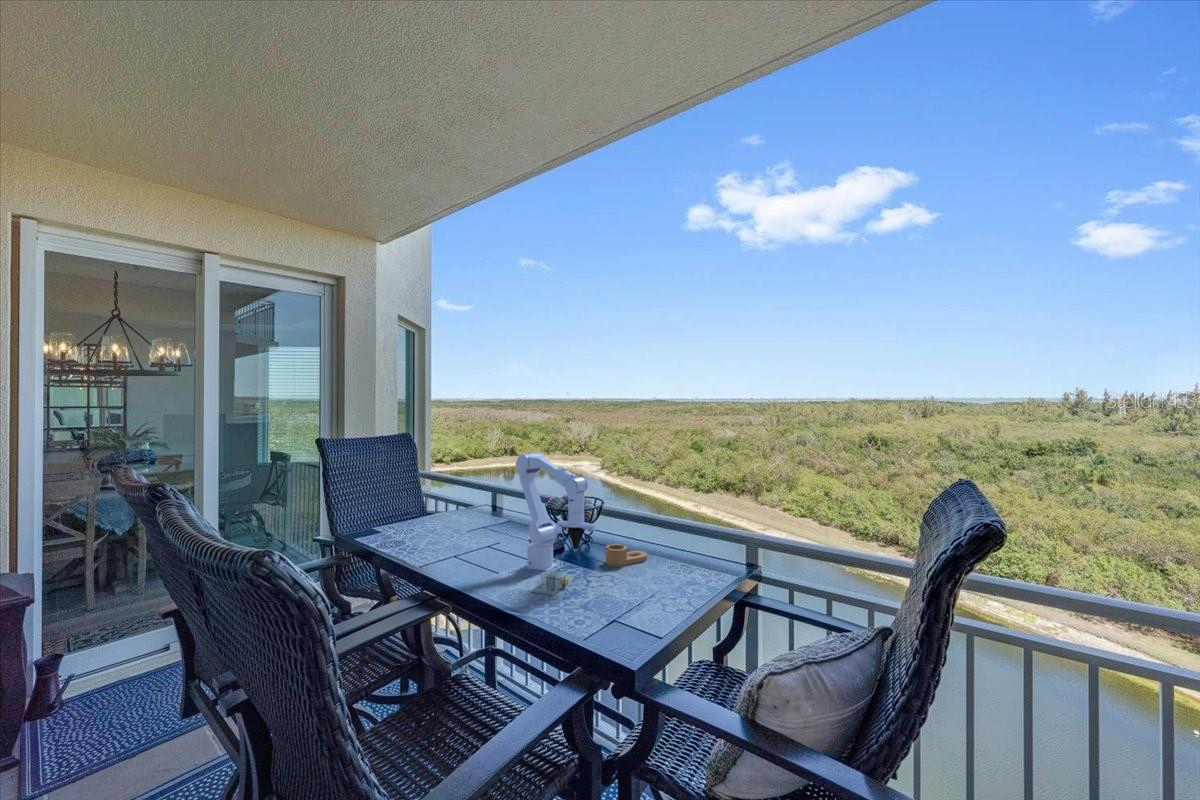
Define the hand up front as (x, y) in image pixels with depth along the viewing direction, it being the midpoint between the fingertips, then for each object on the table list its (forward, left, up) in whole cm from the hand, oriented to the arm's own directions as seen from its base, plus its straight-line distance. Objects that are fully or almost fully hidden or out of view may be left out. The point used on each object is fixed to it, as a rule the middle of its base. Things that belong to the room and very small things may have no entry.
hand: (576, 548), depth 173 cm
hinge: (-4, -10, -10) cm, 15 cm away
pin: (-4, -10, -10) cm, 15 cm away
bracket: (+12, +22, -11) cm, 28 cm away
